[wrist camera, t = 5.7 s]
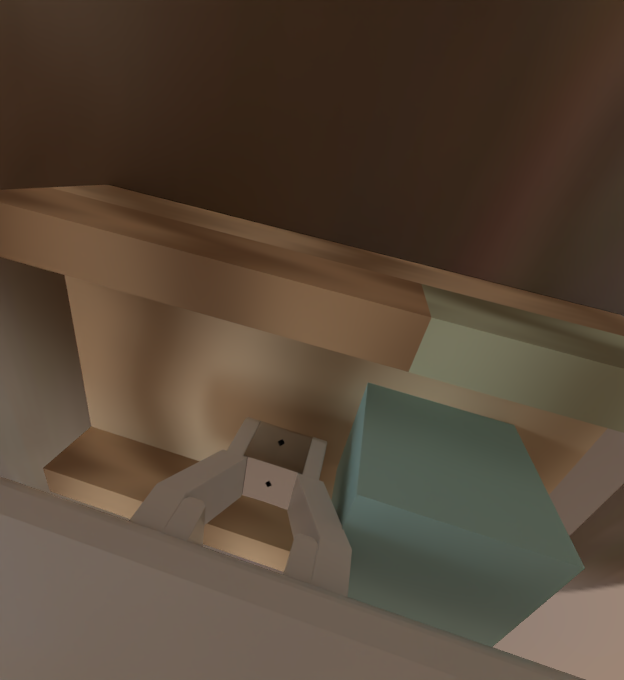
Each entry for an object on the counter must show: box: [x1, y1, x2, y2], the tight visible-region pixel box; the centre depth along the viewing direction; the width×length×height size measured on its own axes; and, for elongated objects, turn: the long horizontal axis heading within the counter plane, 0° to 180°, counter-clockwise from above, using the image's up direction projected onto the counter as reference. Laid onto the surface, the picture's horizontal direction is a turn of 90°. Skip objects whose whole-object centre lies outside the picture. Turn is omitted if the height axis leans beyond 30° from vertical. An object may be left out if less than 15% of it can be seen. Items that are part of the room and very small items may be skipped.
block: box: [331, 383, 585, 647], centre depth 10 cm, size 5×4×4 cm
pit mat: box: [549, 315, 624, 536], centre depth 14 cm, size 4×12×1 cm, turn 168°
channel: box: [0, 185, 624, 572], centre depth 13 cm, size 19×12×5 cm, turn 78°
